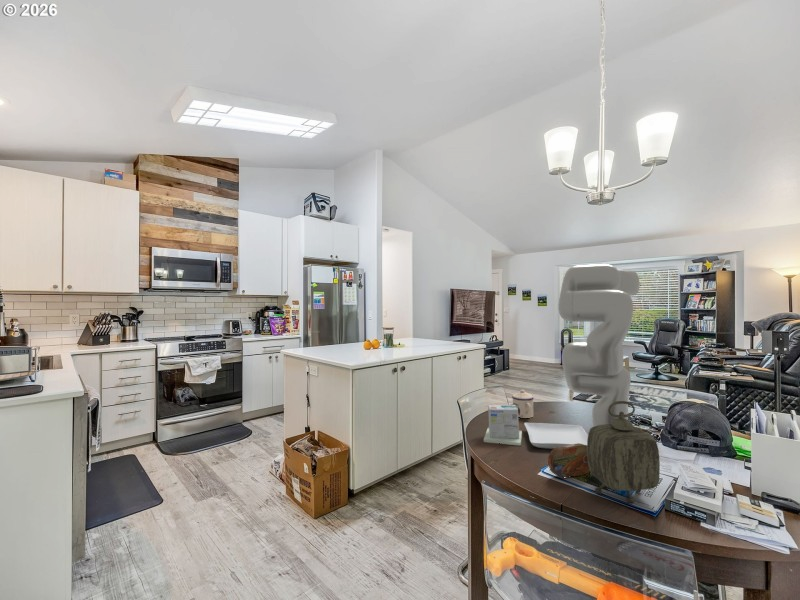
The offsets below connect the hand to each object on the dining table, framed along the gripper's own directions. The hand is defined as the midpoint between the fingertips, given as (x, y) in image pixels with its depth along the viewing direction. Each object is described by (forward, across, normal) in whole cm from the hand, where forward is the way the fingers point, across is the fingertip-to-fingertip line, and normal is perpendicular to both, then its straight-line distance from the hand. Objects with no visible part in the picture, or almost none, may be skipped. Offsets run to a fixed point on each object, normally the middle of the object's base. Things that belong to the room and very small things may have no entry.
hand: (612, 357), depth 135 cm
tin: (+30, -31, +18) cm, 47 cm away
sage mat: (+30, -5, +38) cm, 49 cm away
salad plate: (+31, -4, +20) cm, 37 cm away
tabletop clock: (+30, -42, +6) cm, 52 cm away
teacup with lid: (+31, +22, +31) cm, 49 cm away
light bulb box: (+29, -6, +38) cm, 49 cm away
